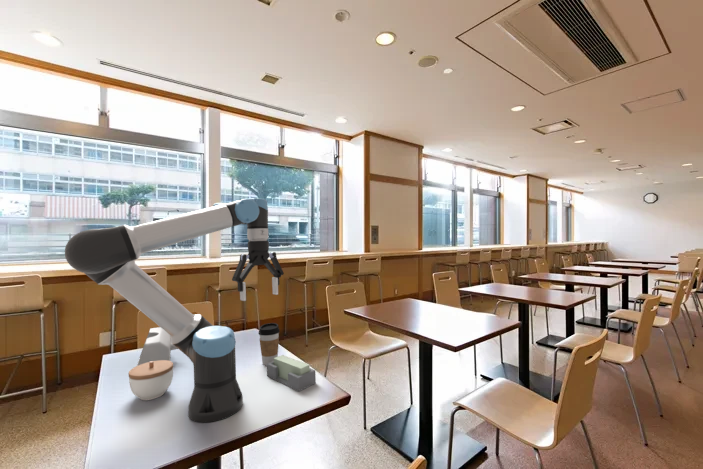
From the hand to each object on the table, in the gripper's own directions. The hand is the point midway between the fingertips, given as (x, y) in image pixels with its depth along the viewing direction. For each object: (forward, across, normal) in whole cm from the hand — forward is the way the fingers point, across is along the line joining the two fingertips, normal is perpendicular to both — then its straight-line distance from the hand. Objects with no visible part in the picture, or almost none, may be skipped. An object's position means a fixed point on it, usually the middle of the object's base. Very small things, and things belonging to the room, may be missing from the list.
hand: (259, 297), depth 120 cm
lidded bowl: (+29, -32, +15) cm, 46 cm away
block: (+28, +4, -12) cm, 31 cm away
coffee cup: (+29, +8, +7) cm, 31 cm away
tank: (+29, -22, +43) cm, 56 cm away
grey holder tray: (+29, +4, -12) cm, 31 cm away
